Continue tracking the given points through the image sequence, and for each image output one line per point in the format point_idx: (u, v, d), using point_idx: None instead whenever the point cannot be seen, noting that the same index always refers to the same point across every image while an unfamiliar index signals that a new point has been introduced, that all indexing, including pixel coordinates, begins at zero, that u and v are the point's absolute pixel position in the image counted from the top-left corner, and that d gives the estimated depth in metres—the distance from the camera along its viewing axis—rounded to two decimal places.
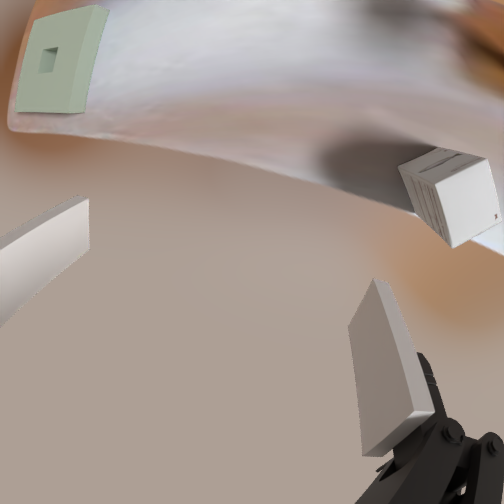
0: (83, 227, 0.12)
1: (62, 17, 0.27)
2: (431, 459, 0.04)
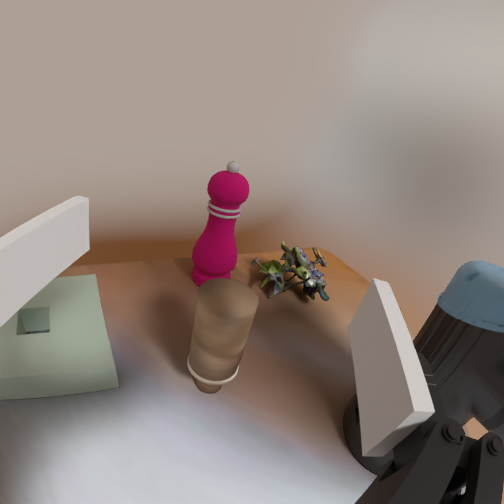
0: (83, 227, 0.12)
1: (93, 318, 0.29)
2: (431, 459, 0.04)
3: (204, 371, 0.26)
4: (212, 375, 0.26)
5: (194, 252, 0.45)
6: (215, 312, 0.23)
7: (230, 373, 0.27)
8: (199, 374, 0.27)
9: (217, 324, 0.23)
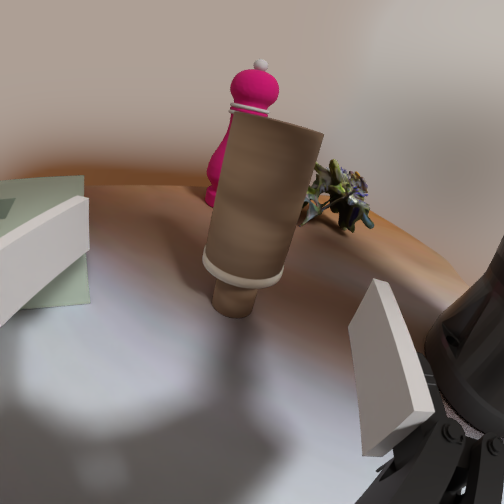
0: (83, 227, 0.12)
1: None
2: (431, 459, 0.04)
3: (233, 257, 0.17)
4: (246, 265, 0.17)
5: (210, 164, 0.36)
6: (265, 120, 0.13)
7: (275, 266, 0.18)
8: (223, 266, 0.17)
9: (266, 142, 0.14)
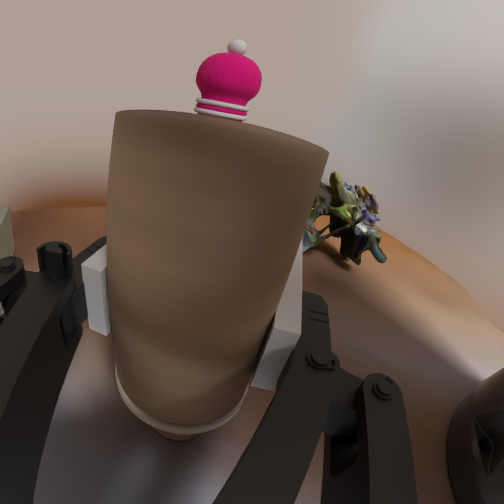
0: None
1: None
2: (297, 389, 0.06)
3: (147, 398, 0.08)
4: (172, 411, 0.08)
5: None
6: (157, 129, 0.04)
7: (226, 405, 0.09)
8: (137, 403, 0.08)
9: (165, 192, 0.05)
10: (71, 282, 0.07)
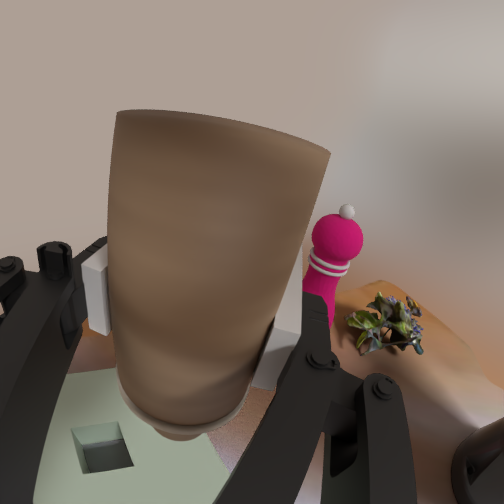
0: None
1: None
2: (297, 389, 0.06)
3: (148, 399, 0.08)
4: (173, 412, 0.08)
5: None
6: (159, 128, 0.04)
7: (228, 405, 0.09)
8: (138, 404, 0.08)
9: (166, 192, 0.05)
10: (71, 282, 0.07)
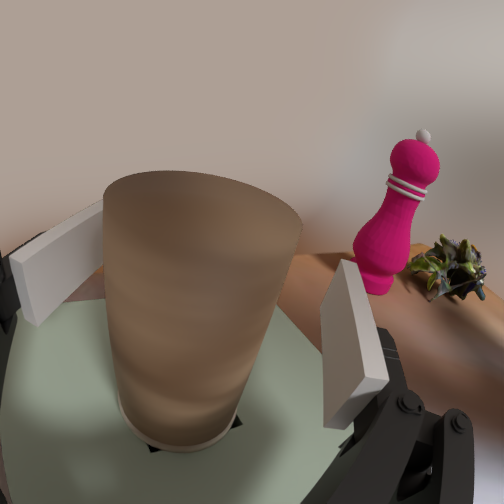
0: None
1: (315, 369, 0.16)
2: (387, 431, 0.05)
3: (147, 425, 0.09)
4: (168, 436, 0.09)
5: (365, 244, 0.31)
6: (138, 234, 0.05)
7: (215, 430, 0.10)
8: (138, 427, 0.09)
9: (151, 286, 0.06)
10: (1, 270, 0.07)
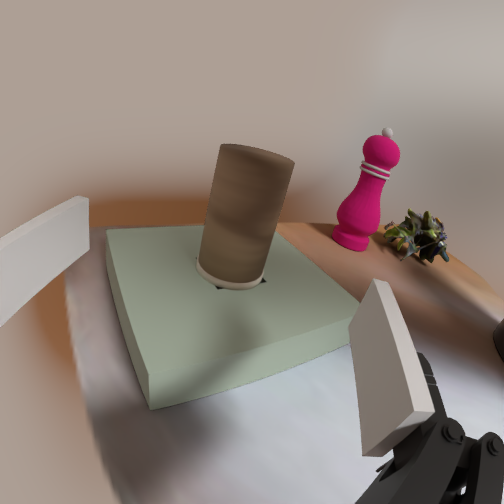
0: (83, 227, 0.12)
1: (307, 266, 0.27)
2: (431, 459, 0.04)
3: (220, 265, 0.21)
4: (231, 271, 0.21)
5: (345, 211, 0.43)
6: (244, 157, 0.17)
7: (255, 272, 0.22)
8: (212, 272, 0.21)
9: (245, 175, 0.18)
10: None
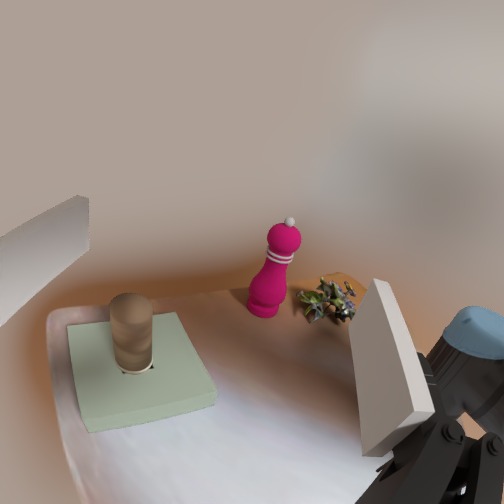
0: (83, 227, 0.12)
1: (188, 353, 0.39)
2: (431, 459, 0.04)
3: (121, 362, 0.33)
4: (127, 366, 0.33)
5: (252, 288, 0.55)
6: (116, 319, 0.29)
7: (141, 366, 0.33)
8: (119, 364, 0.33)
9: (119, 327, 0.29)
10: None
